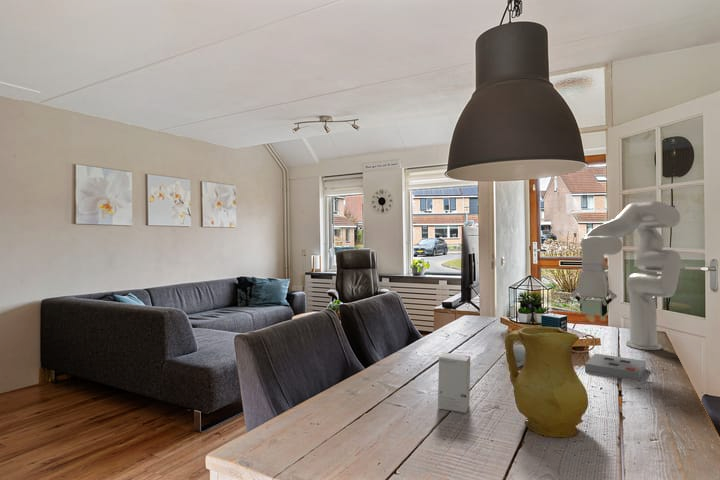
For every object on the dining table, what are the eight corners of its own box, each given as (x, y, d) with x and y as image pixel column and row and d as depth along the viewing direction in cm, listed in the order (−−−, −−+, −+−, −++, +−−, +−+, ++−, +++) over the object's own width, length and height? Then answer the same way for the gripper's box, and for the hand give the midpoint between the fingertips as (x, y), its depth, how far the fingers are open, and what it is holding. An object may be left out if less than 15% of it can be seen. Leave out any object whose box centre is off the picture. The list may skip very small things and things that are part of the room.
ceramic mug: (524, 360, 163) (524, 341, 163) (541, 366, 155) (540, 346, 155) (502, 364, 159) (502, 344, 159) (518, 371, 151) (517, 350, 151)
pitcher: (546, 446, 96) (543, 336, 97) (498, 418, 114) (496, 325, 115) (606, 437, 101) (602, 332, 102) (550, 411, 119) (548, 322, 120)
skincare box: (437, 409, 119) (436, 357, 119) (442, 401, 124) (441, 351, 124) (467, 413, 116) (466, 360, 115) (471, 405, 121) (470, 354, 121)
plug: (587, 318, 168) (587, 298, 168) (605, 320, 164) (605, 300, 164) (581, 320, 162) (581, 300, 162) (600, 323, 158) (600, 302, 158)
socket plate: (595, 361, 160) (595, 351, 160) (645, 369, 150) (645, 359, 150) (585, 371, 148) (584, 361, 148) (638, 381, 138) (638, 370, 138)
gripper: (620, 268, 160) (621, 315, 160) (571, 266, 171) (572, 310, 172) (616, 269, 154) (617, 318, 154) (566, 268, 166) (566, 313, 166)
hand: (593, 313), depth 163 cm, fingers closed on plug, 6 cm apart
